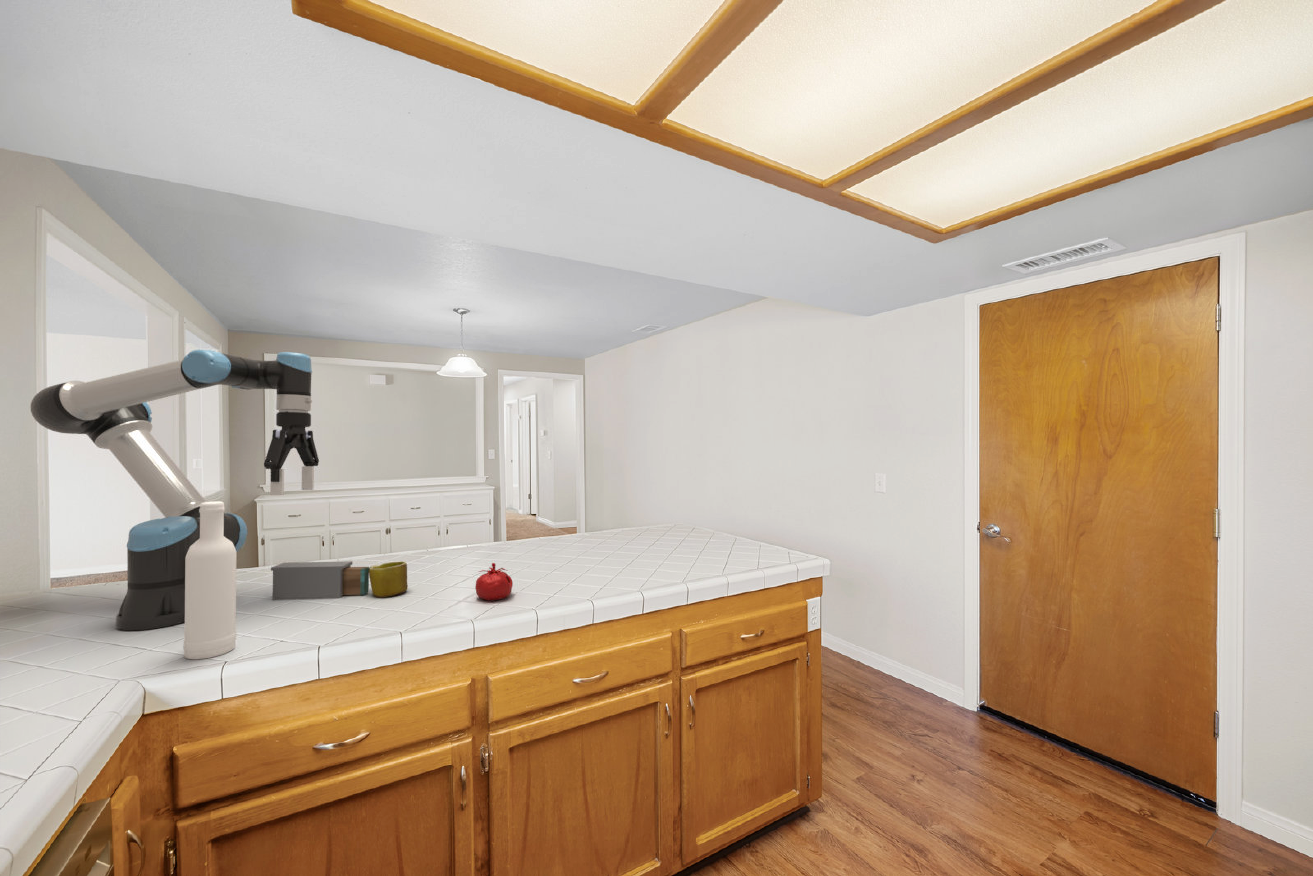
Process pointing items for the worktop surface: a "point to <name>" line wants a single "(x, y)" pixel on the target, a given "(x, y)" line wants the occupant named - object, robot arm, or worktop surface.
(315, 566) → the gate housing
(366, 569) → the gate
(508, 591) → the pomegranate
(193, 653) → the bottle
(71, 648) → the worktop surface
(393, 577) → the mug
